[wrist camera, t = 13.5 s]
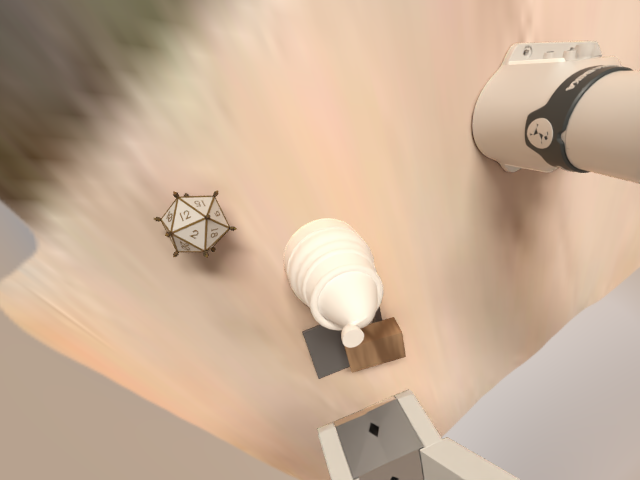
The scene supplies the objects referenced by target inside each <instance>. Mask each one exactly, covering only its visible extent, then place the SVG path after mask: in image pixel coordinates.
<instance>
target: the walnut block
mask: <svg viewBox="0 0 640 480" xmlns="http://www.w3.org/2000/svg"><path fill="white" fill-rule="evenodd" d="M361 330H362V332H363V333H364V339H363V341H362V342H361V343H360V344H359V345H358V346H356V347H352V348H348V347H346V346H344V347H345V351H346V355H347V358H348V361H349V365H350V368H351V371H352V372H356V371H359V370H362V369H366V368H369V367H373V366H376V365H379V364H383V363H386V362H390V361H393V360H396V359H400V358H403V357H406V355H405V349H404V342H403V336H402V331H401V330H400V328H399V326H398V324H397V322H396V320H395V318H394V317H393V318H389V319H386V320H382V321H379V322H375V323H372V324H368V325H367V326H366V327H364V328H361Z"/></svg>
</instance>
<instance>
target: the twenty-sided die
mask: <svg viewBox="0 0 640 480" xmlns="http://www.w3.org/2000/svg"><path fill="white" fill-rule="evenodd" d="M217 195H218V191H214V193H213V196H188V194H186V193H185V195H184V197H179V195H178V193H177V192H174V194H173V196H174V197H176V200H175V201H174V202H173V204H172V205H171V206H170V208H169V209H168V210H167V212H166V213H165V214H164V216H163V217H162V218H159V217H156V218H154V220H156V221H161V222H162V224H163V226H164V228H165V230H166V232H167V233H166V234H165V236H167V237H169V238H170V239H171V241H172V243H173V245H174V247H175V249H176V252H174V254H173V257H176V256H177V255H178V253H179V252H204V256H205V257H207V258H208V255H209V254H208V252H207V251H208V250H209V249H211V250H212V252H215V247H213V246H214V245H215V244H216V243H217V242H218V241H219V240H220V239H221V238H222V237H223V236H224V235H225V234H226V233H227V231H228V230H231V231H232V230H233V231H234V230H236V229H237V228H235V227H230V226H229V224H228V222H227V220H226V218H225V216H224V214H223V212H222V210H221V208H220V206H219V204H218V202H217V200H216V198H215V197H216V196H217Z"/></svg>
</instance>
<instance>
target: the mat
mask: <svg viewBox="0 0 640 480" xmlns="http://www.w3.org/2000/svg"><path fill="white" fill-rule="evenodd" d="M341 332H342V330H332V329H328V328H326V327H323V326H321V325H319V326H316V327H314V328H311V329H308V330H306V331H303V335H304V338H305V340H306V343H307V346H308V349H309V352H310V355H311V358H312V361H313V363H314V366H315V369H316V372H317V375H318V378H319V379H320V378H322V377H325V376H327V375H330V374H332V373H335V372H337V371H340V370H342V369H345V368H347V367H350V365H349V361H348V358H347V355H346V351H345V347H344V344H343V342H342V339H341Z"/></svg>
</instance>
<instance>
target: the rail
mask: <svg viewBox="0 0 640 480" xmlns="http://www.w3.org/2000/svg"><path fill="white" fill-rule="evenodd" d="M373 320H374V323H375V322H379V321H382V318H381V312H380V307H379V308H378V309H377V311H376V313H375V316H374V318H373Z"/></svg>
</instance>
